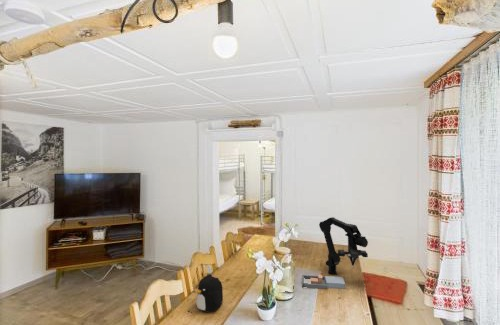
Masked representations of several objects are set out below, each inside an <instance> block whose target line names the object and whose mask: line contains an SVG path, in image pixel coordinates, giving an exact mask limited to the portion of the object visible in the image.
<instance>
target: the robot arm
mask: <svg viewBox="0 0 500 325" xmlns="http://www.w3.org/2000/svg"><path fill="white" fill-rule="evenodd" d="M333 225H334V226H336V227H338V228H340V229H343V231H344V232H345V235H344V236H346V237H347V251H345V250H344V249H337V251H336V249H335V246H334V241H333V237H332V234H331V229H332V226H333ZM318 226H319V228H320V231H321V232H322V233H323V236H324V239H325V243H326V247H327V249H328V255H327V260H326V261H325V265H326V266H328V269H327V274H328V275H330V276H331V275H333V276H337V275H338V271H337V266H338V265H339V264H340V262H341V257H345V256H346V257H347V258H349V261H350V263H351V265H352V266H353V267H354V266H355V263H356V260H357V259H359V258H360V256H361V257H362V258H368V252H367V251H366V250H361V249H358V246H359V247H362V248H366V247H368V245H369V241H368V239H367V237H366V236H364V235H362V233H361V232H360V230H359V228H358V225H356V224H352V223H346V222H343V221H342V220H339V219H338V218H335V217H333V216H332V217H329V218H327V219H325V220H322V221H320V222H319V225H318Z"/></svg>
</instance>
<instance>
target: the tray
mask: <svg viewBox="0 0 500 325" xmlns="http://www.w3.org/2000/svg"><path fill="white" fill-rule="evenodd" d="M325 276H326V275H322V280H323V284H319V283H318V284H308V283H304V278H305V279H311V278H318V275H310V274H308V275H307V274H302V275H301V280H302V282H301V283H302V284H303V285H302V284H301V285H302V288H303V287H307V288H306V289H315V288H317V289H318V290H319V289H320V290H328V288H327V285H326V282H325Z"/></svg>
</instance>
